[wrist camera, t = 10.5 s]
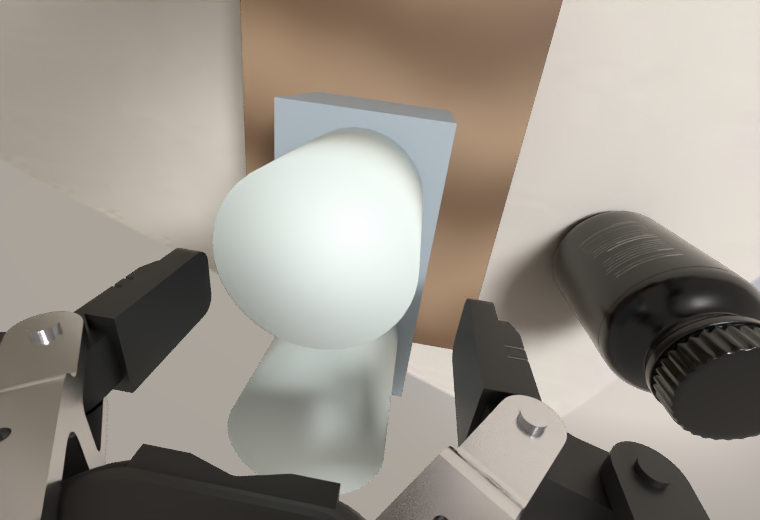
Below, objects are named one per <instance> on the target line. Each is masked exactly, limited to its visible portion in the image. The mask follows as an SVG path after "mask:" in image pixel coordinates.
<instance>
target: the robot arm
mask: <svg viewBox="0 0 760 520" xmlns="http://www.w3.org/2000/svg"><path fill="white" fill-rule="evenodd" d="M210 302H211V288H210V278H209V267H208V259H207V256H206V254H205V253H204V252H200V251H194V250H188V249H182V248H177V249H175V250H173V251H172V252H171V253H169V254H168V255H166V256H165V257H164V258H162V259H161V260H159V261H155V262H153V263H150V264H148V265H145V266H142V267H139V268H138V269H137V270H135V271H134V272H132V273H131V274H129V275H128V276H126V279H122V280H120V281H119V282H118V283H116V284H115V286H114V287H113V286H112V287H110V288H109V289H107V290H106V291H104V292H103V293H101V294H100V295H98V296H97V297H96V298H94V299H93V300H91V301H89V302H88V303H87V304H85V305H84V306H82V307H81V308H79V309H78V310H76V311H75V312H66V311H59V312H49V313H44V314H40V315H36V316H33V317H30V318H28V319H26V320H23V321H21V322H19V323H17V324H16V325H15V326H13V327H12V328H10V329H9V330H8V331H7V332H0V520H365V519H364V518H363V517H362V516H361V515H360V514H359V513H358V512H356V511H355V510H353V509H352V508H351V507H349V506H348V505H346V504H344V503H342V502H340V501H339V493H340V485H341V483H336V482H331V481H326V480H321V479H316V478H311V477H306V476H301V475H296V474H273V475H255V476H233V475H230V474H228V473H226V472H224V471H223V470H221V469H219V468H217V467H215V466H213V465H211V464H210V463H208V462H206V461H204V460H202V459H200V458H198V457H196V456H195V455H193V454H191V453H187V452H182V451H176V450H172V449H166V448H161V447H157V446H152V445H147V444H143V445H142V446H141V447H140V448H139V450H138V451H137V452H136V454H135V455H134V456H133V457H132V459H131V460H128V461H121V462H115V463H111V464H106V441H107V440H106V439H107V416H108V402H107V398H106V395H107V394H108V393H109V392H110V391H111V390H112V389H115V390H120V391H125V392H131V393H133V392H134V391H135V390H136V389H137V388H138V387H139V386H140V385H141V384H142V382H143V381H144V380H145V379H146V378H147V377H148V376H149V375H150V374H151V372H153V370H154V369H155V368H156V367H157V366H158V365H159V364H160V363H161V362H162V361H163V360H164V358H166V356H167V355H168V354H169V353H170V352H171V351H172V350H173V349H174V348H175V347H176V346H177V344H178V343H179V342H180V341H181V340H182V339H183V338H184V337H185V336H186V335H187V334H188V333H189V332H190V330H191V329H192V328H193V327H194V326H195V325H196V324H197V323H198V322H199V321H200V319H201V318H202V317H203V316H204V315H205V314H206V312H207V311H208V309H209V306H210ZM527 360H528V358H527V355H526V352H525V351H524V346H523V343H522V340H521V337H520V335H519V334H518V332H517V331H516V330H515V329H514V328H513V327H512V326H511V324H510V323H509V322H503V321H498V319H497V315H496V311H495V307H494V304H493V303H492V302H486V301H481V300H475V299H469V298H467V300H466V301H465V304H464V308H463V311H462V315H461V318H460V322H459V326H458V329H457V333H456V336H455V340H454V345H453V354H452V362H453V376H454V391H455V404H456V419H457V433H458V446H459V447H458V448H457V449H456V450H455V449H454V448H453V447H451V446H450V447H447V448H446V449H444V450H443V451H442V452H441V453H440V454H439V455H438V456H437V457H436V458H435V459H434V460H433V461H432V462H431V463H430V464H429V465H428V466H427V467H426V468H425V469H424V470H423V471H422V472H421V474H419V476H418V477H417V478H416V479H415V480H414V481H413V482H412V483H411V484H410V485H409V486H408V487H407V488H406V489H405V490H404V491H403V492H402V493H401V494H400V495H399V496H398V497H397V498H396V499H395V500H394V501H393V502H392V503H391V504H390V505H389V506H388V507H387V509H385V510H384V511H383V512H382V514H381V515H380V516H379V517H378V518H377V519H376V520H710V519H709V517H708V515H707V514H706V512H705V510H704V508H703V506H702V505H701V503H700V501H699V499H698V498H697V496H696V494H695V492H694V490H693V489H692V487H691V485H690V483H689V482H688V480H687V479H686V477H685V476H684V475H683V473H682V472H681V471H680V470H679V469H678V468H677V467H676V466H675V465H674V464H673V463H672V462H671V461H670V460H668V459H667V458H666V457H664V456H663V455H661V454H660V453H659V452H657V451H655V450H653V449H651V448H649V447H647V446H645V445H642V444H639V443H636V442H630V441H624V442H620V443H617V444H616V445H615V446H613V448H612V450H611V451H610V453H609V452H607V451H604V450H602V449H600V448H598V447H595V446H593V445H591V444H589V443H586V442H584V441H582V440H580V439H578V438H576V437H574V436H572V435H570V434H569V433H567V431H566V428H565V425H564V423H563V421H562V420H561V418H560V417H559V416H558V414H557V413H556V412H555V411H554V410H553V409H551V408H550V407H549V406H548V405H546V404H545V403H543V402H542V401H541V398H540V395H539V392H538V389H537V386H536V383H535V380H534V377H533V374H532V371H531V368H530V364H529V362H527Z"/></svg>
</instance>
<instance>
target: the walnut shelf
mask: <svg viewBox="0 0 760 520" xmlns="http://www.w3.org/2000/svg"><path fill="white" fill-rule="evenodd" d="M562 1H563V0H240V11H241V38H242V66H243V94H244V121H245V149H246V176H247V175H248V174H250V173H251V172H253V171H255V170H257V169H259V168H261V167H263V166H265V165H266V164H268V163H270V162H272V161H274V97H279V96H287V95H295V94H303V93H311V92H325V93H332V94H339V95H346V96H353V97H360V98H367V99H374V100H381V101H388V102H395V103H402V104H409V105H416V106H423V107H430V108H437V109H444V110H449V111H450V112H451V114H452V116H453V117H454V119H455V121H456V123H457V126H456V131H455V136H454V141H453V146H452V150H451V155H450V160H449V165H448V170H447V175H446V180H445V185H444V190H443V195H442V199H441V204H440V209H439V214H438V219H437V224H436V229H435V234H434V239H433V244H432V249H431V253H430V258H429V263H428V268H427V273H426V278H425V283H424V288H423V293H422V298H421V302H420V307H419V312H418V317H417V322H416V327H415V332H414V337H413V343H419V344H424V345H430V346H436V347H441V348H447V349H453V345H454V340H455V336H456V333H457V329H458V326H459V322H460V318H461V315H462V311H463V308H464V304H465V301H466V300H467V298H469V299H475V300H478V298H479V295H480V291H481V288H482V284H483V281H484V277H485V273H486V270H487V266H488V263H489V259H490V256H491V252H492V249H493V245H494V242H495V238H496V235H497V231H498V227H499V224H500V220H501V217H502V213H503V210H504V206H505V203H506V199H507V196H508V192H509V189H510V185H511V182H512V178H513V174H514V171H515V167H516V164H517V160H518V157H519V153H520V150H521V146H522V143H523V139H524V136H525V132H526V128H527V125H528V121H529V118H530V114H531V111H532V107H533V104H534V100H535V97H536V93H537V90H538V86H539V82H540V79H541V75H542V72H543V68H544V65H545V61H546V58H547V54H548V51H549V47H550V44H551V40H552V37H553V33H554V29H555V26H556V22H557V19H558V15H559V12H560V8H561V5H562Z"/></svg>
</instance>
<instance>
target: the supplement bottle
mask: <svg viewBox="0 0 760 520" xmlns="http://www.w3.org/2000/svg"><path fill="white" fill-rule="evenodd" d="M553 273H554V277H555V280H556V283H557V285H558V287H559V289H560V290H561V292H562V294H563V295H564V297H565V299H566V300H567V302H568V303H569V305H570V307H571V308H572V310H573V311H574V313H575V315H576V316H577V318H578V319H579V321H580V323H581V324H582V326H583V327H584V329H585V331H586V332H587V334H588V335H589V337H590V339H591V340H592V342H593V343H594V345H595V347H596V348H597V350H598V351H599V353H600V354H601V356H602V358H603V359H604V361H605V362H606V364H607V365H608V366H609V368H610V369H611V370H612V371H613V372H614V373H615V374H616V375H617V376H618V377H619V378H620V379H622V380H623V381H625V382H626V383H628V384H630V385H632V386H634V387H636V388H638V389H641V390H643V391H646V392H650V393H652V394H653V395H654V396H655V398H656V399H657V400H658V401H659V402H660V403H661V404H662V405H663V406H664V407H665V409H666V410H667V412H668V413H669V414H670V416H671V417H672V418H673V420H674V421H675V422H676V423H677V424H679V425H680V426H681V427H682V428H683V429H684V430H687V431H690V432H691V433H692V434H693V435H698V436H701V437H703V438H712V439H714V440H719V439H725V440H732V439H743V438H747V437H753V436H757V435H759V434H760V292H759V291H758V290H757V289H756V288H755V287H754V286H753V285H752V284H751V283H749V282H748V281H746V280H745V279H743V278H742V277H740V276H739V275H738V274H736V273H735V272H733V271H732V270H730V269H728V268H727V267H725V266H724V265H722V264H721V263H719V262H718V261H716V260H714V259H713V258H711V257H710V256H708V255H707V254H705V253H704V252H702V251H700V250H699V249H697V248H696V247H694V246H693V245H691V244H690V243H688V242H687V241H685V240H683V239H682V238H680V237H679V236H677V235H676V234H674V233H673V232H671V231H669V230H668V229H666V228H665V227H663V226H662V225H660V224H658V223H657V222H655V221H653V220H652V219H650V218H648V217H646V216H644V215H641V214H638V213H634V212H628V211H612V212H606V213H602V214H598V215H595V216H593V217H590V218H588V219H586V220H584V221H583V222H581V223H579V224H578V225H577V226H575V227H574V228H573V229H572V230H571V231H570V232H569V233H568V234H567V235H566V236H565V237H564V238H563V240H562V241H561V243H560V244H559V246H558V248H557V250H556V253H555V256H554V261H553Z"/></svg>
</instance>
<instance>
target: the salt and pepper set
mask: <svg viewBox="0 0 760 520" xmlns="http://www.w3.org/2000/svg"><path fill="white" fill-rule="evenodd" d="M456 126H457V123H456V121H455V119H454V117H453V116H452V114H451V112H450V111H449V110H444V109H437V108H430V107H423V106H416V105H409V104H402V103H395V102H388V101H381V100H374V99H367V98H360V97H353V96H346V95H339V94H332V93H325V92H311V93H303V94H295V95H287V96H279V97H274V161H272V162H270V163H268V164H266V165H265V166H263V167H261V168H259V169H257V170H255V171H253V172H251V173H250V174H248V175H247V176H246V177H244V178H243V179H242V180H240V181H239V182H238V183H237V184H236V185H235V186H234V187H233V188H232V189H231V190H230V192H229V193H228V195H227V196H226V198H225V199H224V200H223V202H222V204H221V206H220V209H219V211H218V213H217V216H216V220H215V223H214V230H213V254H214V260H215V264H216V268H217V271H218V274H219V276H220V279H221V281H222V283H223V285H224V287H225V289H226V290H227V292H228V294H229V296H230V297H231V298H232V300H233V301H234V302H235V304H236V305H237V306H238V307H239V308H240V309H241V310H242V312H243V313H244V314H245V315H246V316H247V317H249V318H250V319H251V320H252V321H253V322H254V323H255V324H257V325H258V326H260V327H261V328H262V329H264V330H266V331H267V332H269V333H270V334H272V335H274V336H275V338H274V340H273V341H272V343H271V345H270V347H269V348H268V350H267V352H266V353H265V355H264V357H263V358H262V360H261V362H260V363H259V365H258V367H257V368H256V370H255V372H254V373H253V375H252V377H251V378H250V380H249V382H248V383H247V385H246V387H245V388H244V390H243V392H242V394H241V395H240V397H239V398H238V400H237V402H236V403H235V405H234V407H233V408H232V410H231V413H230V415H229V419H228V434H229V438H230V441H231V444H232V446H233V448H234V450H235V451H236V453H237V454H238V456H239V457H240V458H241V460H242V461H243V462H244V463H245V464H246V465H247V466H248V467H249V468H250V469H252V470H253V471H254V472H255V473H257V474H258V475H273V474H296V475H301V476H306V477H311V478H316V479H321V480H326V481H331V482H336V483H341V485H340V493H339V494H344V493H348V492H351V491H354V490H357V489H359V488H361V487H363V486H364V485H366V484H367V483H369V482H370V481H371V480H372V479H373V478H374V477H375V476H376V475H377V473H378V472H379V470H380V468H381V466H382V463H383V459H384V450H385V441H386V434H387V426H388V418H389V410H390V402H391V395H395V396H402V391H403V386H404V380H405V375H406V371H407V366H408V361H409V356H410V351H411V347H412V342H413V337H414V332H415V327H416V322H417V317H418V312H419V307H420V302H421V298H422V293H423V288H424V283H425V278H426V273H427V268H428V263H429V258H430V253H431V249H432V244H433V239H434V234H435V229H436V224H437V219H438V214H439V209H440V204H441V199H442V195H443V190H444V185H445V180H446V175H447V170H448V165H449V160H450V155H451V150H452V146H453V141H454V136H455V131H456Z"/></svg>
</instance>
